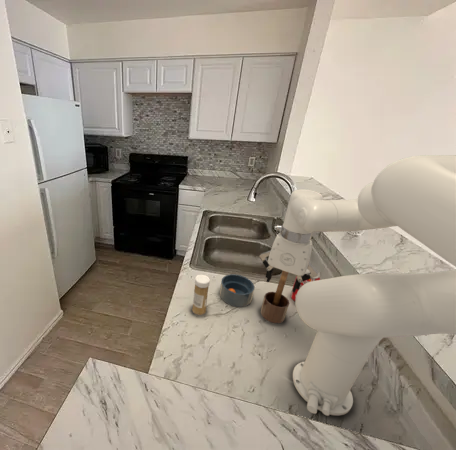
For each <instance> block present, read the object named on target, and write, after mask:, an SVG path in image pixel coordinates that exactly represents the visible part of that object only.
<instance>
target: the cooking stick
mask: <svg viewBox="0 0 456 450" xmlns="http://www.w3.org/2000/svg"><path fill="white" fill-rule="evenodd" d="M289 274H290V273H289V272H286V271H283V270H281V274H280V278H279V281H278V284H277V287H276V290H275V292H276V293H275V296H274V299H273V303H272V305H274V306H278V305H279V301H280V298H281V295H283V292H284V289H285V286H286V282H287V279H288V276H289Z"/></svg>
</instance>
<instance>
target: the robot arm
mask: <svg viewBox="0 0 456 450" xmlns="http://www.w3.org/2000/svg"><path fill="white" fill-rule="evenodd" d="M392 227H398V228H399V229H401V230H402V231H404V232H405V233H406V234H408V235H409V236H411V237H412V238H414V239H415V240H416V241H418V242H419V243H421V244H422V245H423V246H425V247H426V248H428V249H429V250H431V251H432V252H434V253H435V254H436V255H438V256H439V257H440V258H442V259H443V260H444V261H446V262H448V263H449V264H451V265H452V266H454V267H455V269H449V270H441V271H432V272H420V273H419V272H417V273H408V272H382V273H377V272H376V273H359V274H357V273H355V274H348V275H342V276H335V277H330V278H325V279H324V278H323V279H320V280H317V281H311V282H308V283H306V284H304V285H303V286H302V287H301V288H300V285H301V283H302V282H303V281H305V280H309V279H310V278H313V277H316V276H318V273H319V271H318V270H317V269H316V268H315V266H314V265H313V264H312V263H311V262H310V260H311V257H312V251H313V241H312V236H313V233H330V232H331V233H332V232H337V233H338V232H357V231H358V232H359V231H368V230H377V229H387V228H392ZM275 230H277V231H279V233H277V234H276V236H275V238H274V241H273V243H272V245H271V248H270V250H266V251H264V252H260V254H259V256H258V257H259V258H260V260H261V262H262V264H263V265H264V267H265V270H266V273H265V278H266V282H267V283H270V281H271V280H272V277H273V274H274V269H278V270H280V271H286V272H289V273H288V274H292V275H295V277H296V276H297V279H296V278H295V279H296V281H295V280H294V282H295V284H294V283H293V285H294V287H293V286H292V288H293V292H294V293H295V291H296V289H298V292H297V295H296V299H295V301H294V305H295V310H296V312H297V315H298V317H299V318H300V319H301V320H302V322H303V323H304V324H305V325H307V326H308V327H309V328H310V329H312V330H313V331H316V334H315V337H314V339H313V341H312V344H311V346H310V347H309V348H310V349H309V351H308V353H307V356H306V358H305V361H300V362H298V363H297V364H295V366H294V368H293V370H292V380H293V381H292V382H293V385H294V387H295V389H296V391H297V392H298V394H299V396H301V397H302V399H303V400H304V401H305V402H307V403H306V410H307V411H308V412H309V413H311V414H313V415H314V414H317V413H318V411H319V412H321V413H322V414H323V415H324V416H326V417H329V416H330V415H331V416H337V417H338V416H344V415H346V414H348V413H349V412H350V411H351V409H352V407H353V404H354V396H353V393H352V391H351V390H352V388H353V387H354V384H355V383H356V381H357V380H358V377H359V375H360V374H361V372H362V370H363V369H364V367H365V365H366V363H367V361H368V360H369V358H370V357H371V355H372V353H373V352H374V350H375V349H376V348H377V345H378V344H379V343H380V342H381V341H382V339H386V338H403V337H420V336H429V335H438V334H440V335H441V334H442V335H443V334H445V335H456V154H445V155H444V154H441V155H436V154H435V155H426V154H425V155H412V156H408V157H404V158H401V159H398V160H395V161H394V162H392V163H390V164H388V165H387V166H385V167H384V168H383V169H381V171H380V172H379V173H378V174H377V175H376V177H375V179H374V180H373V181H372V182H370V183H368V184H366V185H364V186H363V188H362V189H361V190H360V192H359V194H358V196H357V198H353V199H324V197H323V195H322V194H321V193H320V192H318V191H316V190H313V189H308V188H307V189H306V188H301V189H300V188H299V189H295V190H293V191H292V192H291V194H290V196H289V199H288V203H287V207H286V211H285V215H284V219H283V223H282V224H281V225H279V224H277V225H276V227H275ZM267 257H268V258H267ZM307 269H308V270H309V271H310V273H307V274H305V272H306V270H307ZM299 288H300V289H299Z"/></svg>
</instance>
